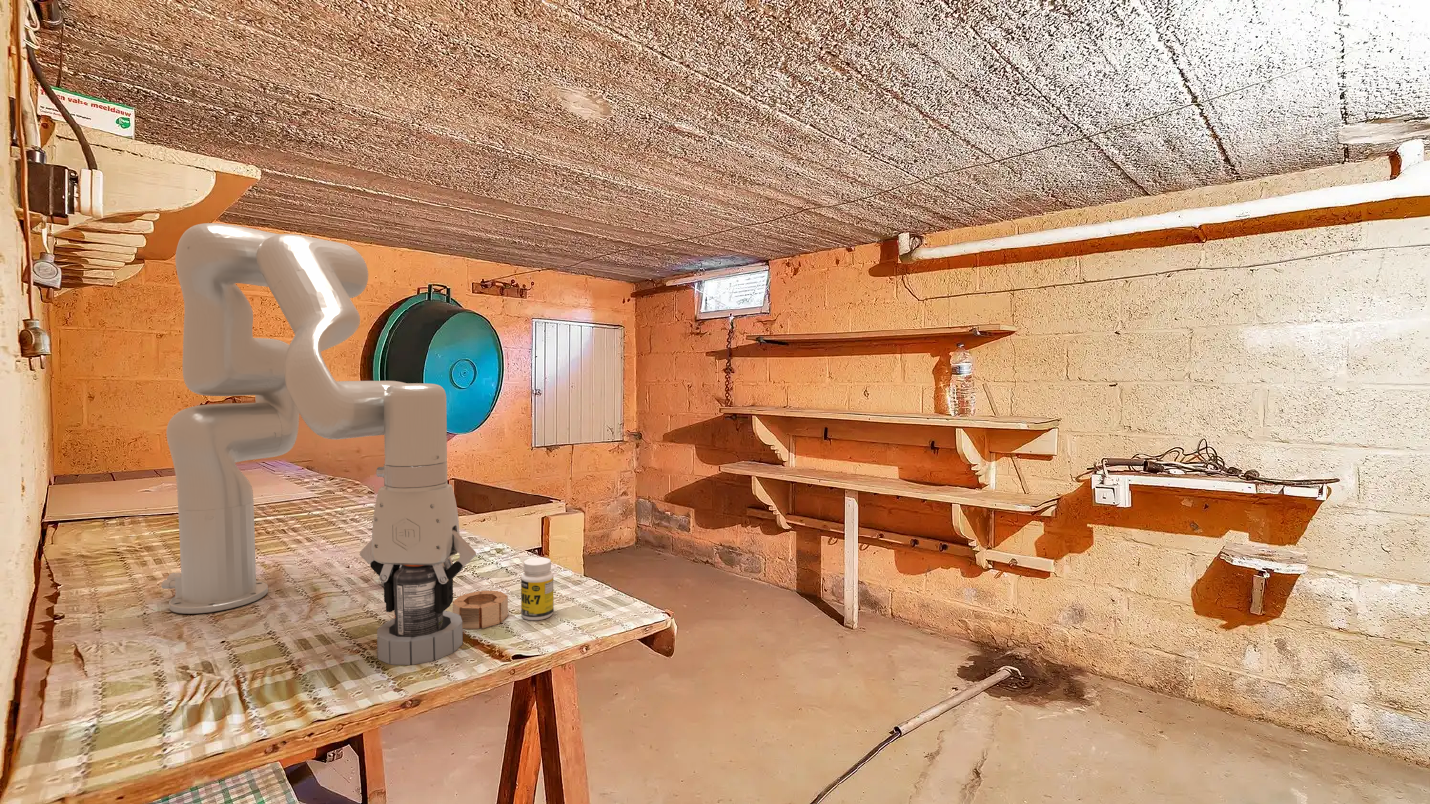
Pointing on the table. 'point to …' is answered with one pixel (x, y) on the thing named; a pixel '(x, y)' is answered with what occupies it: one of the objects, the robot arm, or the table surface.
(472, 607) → the wooden ring
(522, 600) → the supplement bottle
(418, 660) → the grey segmented ring
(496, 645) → the table surface
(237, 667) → the table surface
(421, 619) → the pill bottle
